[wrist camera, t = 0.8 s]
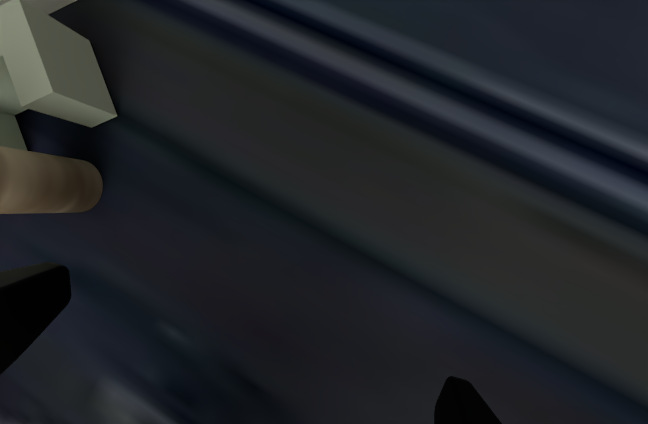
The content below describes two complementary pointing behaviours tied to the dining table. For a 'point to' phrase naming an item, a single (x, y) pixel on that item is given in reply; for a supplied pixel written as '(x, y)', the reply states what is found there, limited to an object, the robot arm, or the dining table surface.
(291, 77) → the dining table surface
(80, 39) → the block
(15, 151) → the dowel
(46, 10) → the kerb
